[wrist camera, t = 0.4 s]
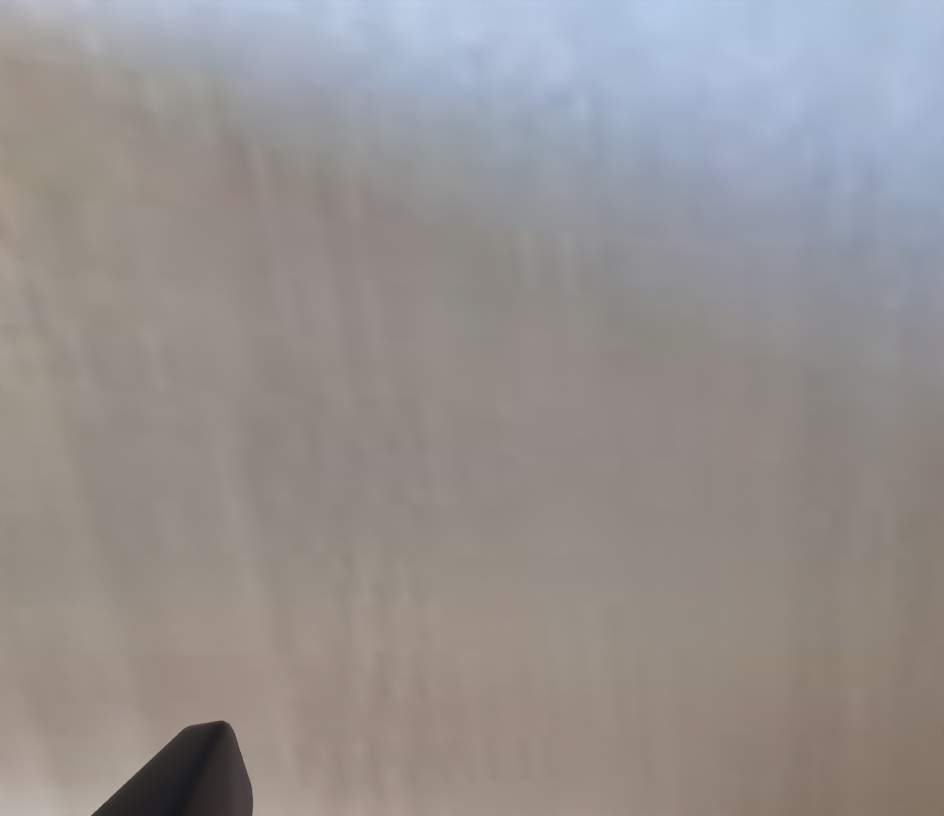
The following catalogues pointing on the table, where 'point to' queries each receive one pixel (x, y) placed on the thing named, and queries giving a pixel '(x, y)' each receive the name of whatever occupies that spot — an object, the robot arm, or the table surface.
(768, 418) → the table surface
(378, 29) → the table surface
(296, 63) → the table surface
